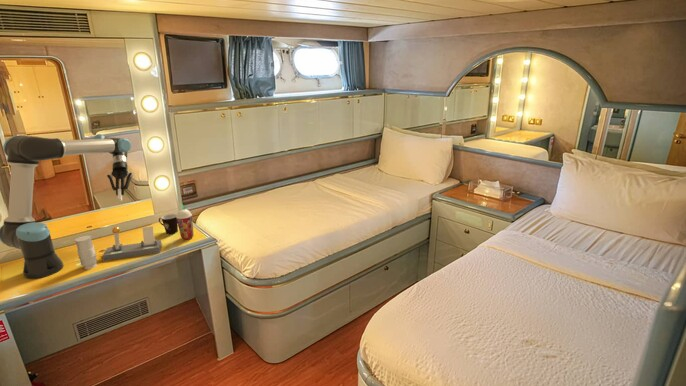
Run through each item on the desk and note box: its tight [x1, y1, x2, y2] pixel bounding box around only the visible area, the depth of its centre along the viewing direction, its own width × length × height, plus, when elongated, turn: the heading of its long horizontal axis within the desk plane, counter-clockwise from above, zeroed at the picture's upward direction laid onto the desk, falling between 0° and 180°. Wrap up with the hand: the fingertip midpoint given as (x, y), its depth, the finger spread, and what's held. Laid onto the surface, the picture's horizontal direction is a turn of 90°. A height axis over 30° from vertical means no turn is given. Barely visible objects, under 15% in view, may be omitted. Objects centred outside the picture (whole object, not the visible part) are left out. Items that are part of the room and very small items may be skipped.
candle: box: [74, 235, 98, 270], centre depth 183 cm, size 7×7×15 cm
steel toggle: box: [111, 226, 121, 249], centre depth 197 cm, size 4×4×11 cm
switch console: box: [102, 238, 163, 262], centre depth 198 cm, size 26×10×5 cm, turn 109°
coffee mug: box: [158, 213, 179, 235], centre depth 224 cm, size 12×9×10 cm
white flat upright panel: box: [141, 226, 156, 245], centre depth 201 cm, size 5×1×9 cm, turn 109°
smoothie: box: [176, 204, 194, 241], centre depth 213 cm, size 8×8×20 cm
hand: (120, 200), depth 211 cm, fingers closed
